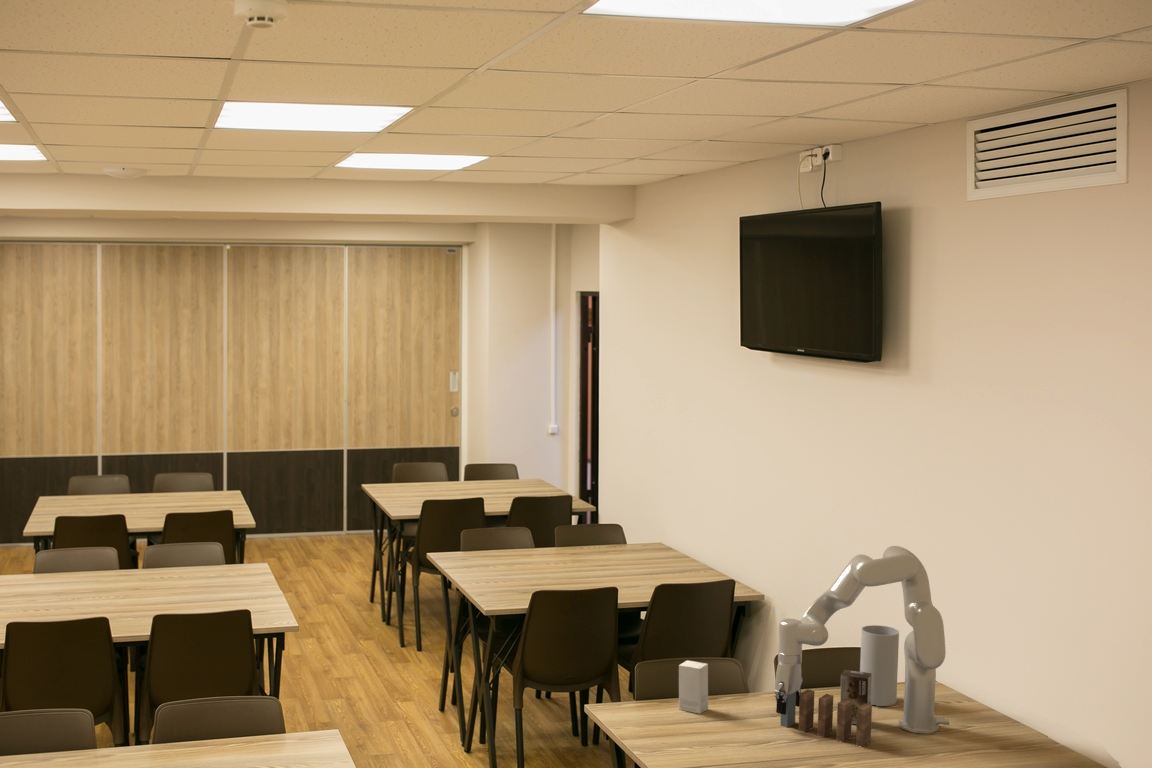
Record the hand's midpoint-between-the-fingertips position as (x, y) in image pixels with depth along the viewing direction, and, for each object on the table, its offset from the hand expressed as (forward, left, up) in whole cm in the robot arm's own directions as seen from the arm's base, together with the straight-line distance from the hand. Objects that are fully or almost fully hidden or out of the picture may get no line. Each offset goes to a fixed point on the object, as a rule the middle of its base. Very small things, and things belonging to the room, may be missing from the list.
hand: (788, 709), depth 362 cm
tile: (0, 0, -5) cm, 5 cm away
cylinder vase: (-32, -28, -5) cm, 43 cm away
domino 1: (-6, +3, -5) cm, 8 cm away
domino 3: (-17, +10, -5) cm, 20 cm away
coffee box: (-22, -6, -5) cm, 23 cm away
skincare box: (+31, -7, -5) cm, 32 cm away
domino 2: (-11, +7, -5) cm, 14 cm away
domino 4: (-22, +13, -5) cm, 26 cm away
